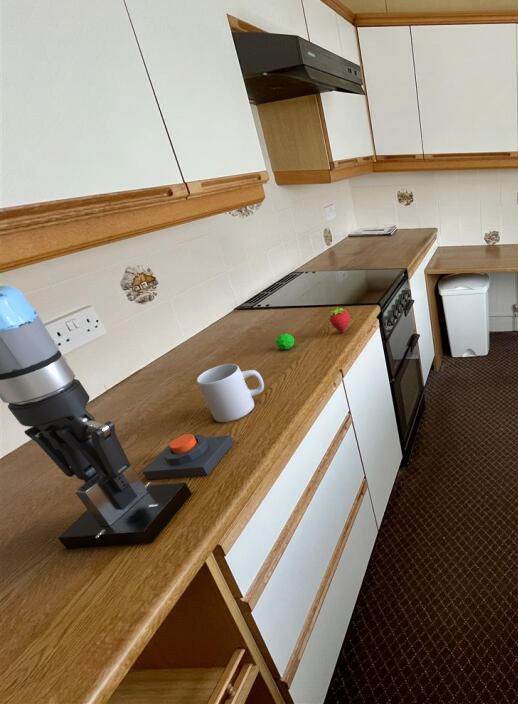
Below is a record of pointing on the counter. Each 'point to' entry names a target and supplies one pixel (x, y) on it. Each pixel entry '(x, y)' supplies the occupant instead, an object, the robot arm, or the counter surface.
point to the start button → (183, 444)
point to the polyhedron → (285, 341)
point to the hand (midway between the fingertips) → (121, 502)
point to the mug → (228, 391)
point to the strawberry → (339, 319)
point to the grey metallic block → (108, 498)
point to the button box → (189, 459)
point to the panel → (129, 520)
